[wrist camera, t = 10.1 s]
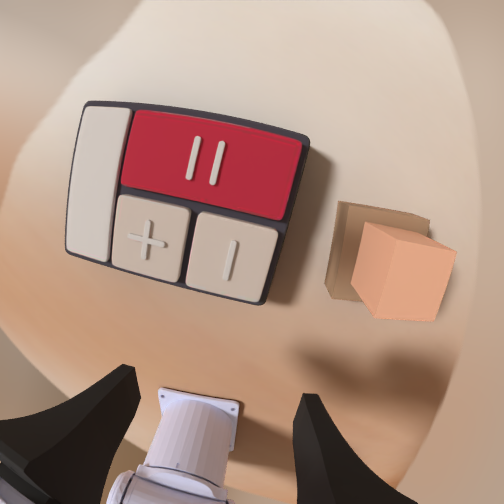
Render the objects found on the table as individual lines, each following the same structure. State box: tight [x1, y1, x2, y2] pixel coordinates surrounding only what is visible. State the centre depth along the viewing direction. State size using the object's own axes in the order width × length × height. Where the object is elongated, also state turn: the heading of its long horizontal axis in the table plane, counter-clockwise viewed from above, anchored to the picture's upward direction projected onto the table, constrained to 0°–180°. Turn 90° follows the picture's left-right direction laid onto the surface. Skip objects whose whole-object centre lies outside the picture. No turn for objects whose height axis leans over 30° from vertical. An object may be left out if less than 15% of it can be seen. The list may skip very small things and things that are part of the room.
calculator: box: [65, 101, 310, 306], centre depth 17 cm, size 11×4×15 cm
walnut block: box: [325, 201, 430, 301], centre depth 18 cm, size 6×6×3 cm
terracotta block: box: [351, 222, 457, 321], centre depth 14 cm, size 4×4×4 cm
